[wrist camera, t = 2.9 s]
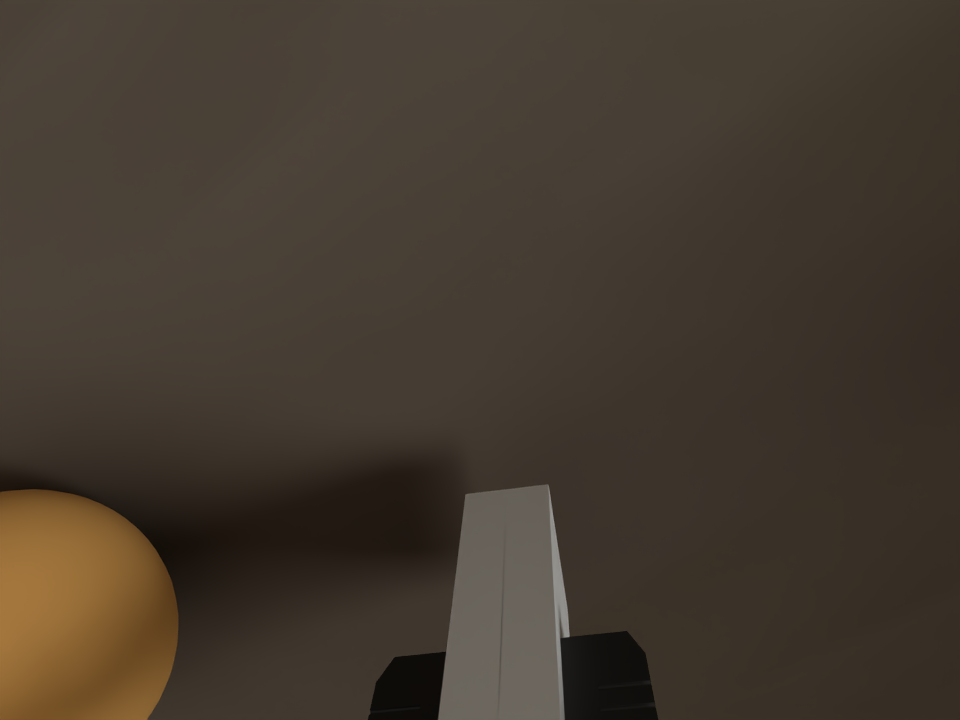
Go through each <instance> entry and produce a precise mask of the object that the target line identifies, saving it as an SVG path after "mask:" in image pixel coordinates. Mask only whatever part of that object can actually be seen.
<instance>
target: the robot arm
mask: <svg viewBox="0 0 960 720" xmlns="http://www.w3.org/2000/svg"><path fill="white" fill-rule="evenodd" d="M370 711H371V714H370V715H369V717H368V720H658V717H657V712H656V708H655V701H654V696H653V691H652V685H651V680H650V675H649V670H648V664H647V659H646V654H645V652H644V651H643V650H642V648H641V647H640V646H639V645H638V644H637V643H636V641H635V640H634V639H633V638H632V637H631V635H630V634H629V633H628V632H627V631H623V632H614V633H604V634H594V635H584V636H574V637H570V636H569V622H568V610H567V603H566V596H565V590H564V583H563V577H562V570H561V564H560V557H559V551H558V544H557V537H556V531H555V524H554V518H553V511H552V505H551V498H550V492H549V485H548V484H547V485H538V486H530V487H522V488H513V489H505V490H497V491H488V492H480V493H472V494H466V495H465V503H464V512H463V520H462V528H461V536H460V544H459V553H458V561H457V569H456V577H455V585H454V594H453V602H452V610H451V618H450V626H449V634H448V643H447V651H446V652H440V653H430V654H420V655H411V656H401V657H395V658H394V659H393V660H392V662H391V663H390V664H389V666H388V667H387V668H386V670H385V671H384V672H383V674H382V675H381V677H380V678H379V679H378V681H377V682H376V686H375V690H374V695H373V699H372V704H371V708H370Z"/></svg>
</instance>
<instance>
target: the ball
mask: <svg viewBox="0 0 960 720" xmlns="http://www.w3.org/2000/svg"><path fill="white" fill-rule="evenodd" d="M178 619H179V618H178V609H177V602H176V596H175V592H174V588H173V584H172V581H171V578H170V576H169V574H168V571H167V569H166V567H165V565H164V563H163V561H162V559H161V558H160V556H159V554H158V553H157V551H156V549H155V548H154V547H153V545H152V544H151V543H150V541H149V540H148V539H147V538H146V537H145V535H144V534H143V533H142V532H141V531H140V530H139V529H138V528H137V527H136V526H134V525H133V524H132V523H131V522H130V521H128V520H127V519H126V518H124V517H123V516H121V515H120V514H118V513H117V512H115V511H114V510H112V509H110V508H108V507H106V506H104V505H103V504H101V503H98V502H96V501H93V500H91V499H88V498H85V497H82V496H78V495H75V494H70V493H64V492H58V491H52V490H40V489H27V490H14V491H4V492H0V720H147V719H148V717H149V716H150V714H151V712H152V711H153V709H154V708H155V706H156V704H157V703H158V701H159V700H160V698H161V695H162V693H163V691H164V688H165V686H166V684H167V681H168V679H169V676H170V674H171V671H172V667H173V662H174V658H175V653H176V649H177V643H178Z"/></svg>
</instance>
